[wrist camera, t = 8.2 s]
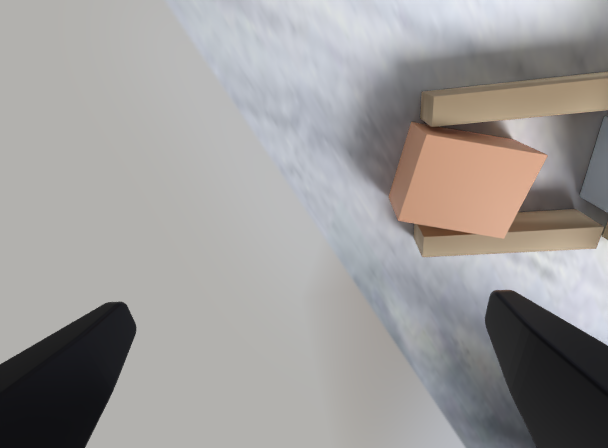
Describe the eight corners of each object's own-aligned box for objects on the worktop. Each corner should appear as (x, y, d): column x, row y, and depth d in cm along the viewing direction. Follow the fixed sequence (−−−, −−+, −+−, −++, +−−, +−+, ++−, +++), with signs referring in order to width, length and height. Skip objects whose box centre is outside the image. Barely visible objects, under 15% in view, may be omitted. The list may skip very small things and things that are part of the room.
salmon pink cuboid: (477, 211, 17) (503, 238, 15) (387, 195, 17) (398, 220, 15) (510, 138, 16) (547, 155, 13) (410, 121, 16) (426, 134, 13)
